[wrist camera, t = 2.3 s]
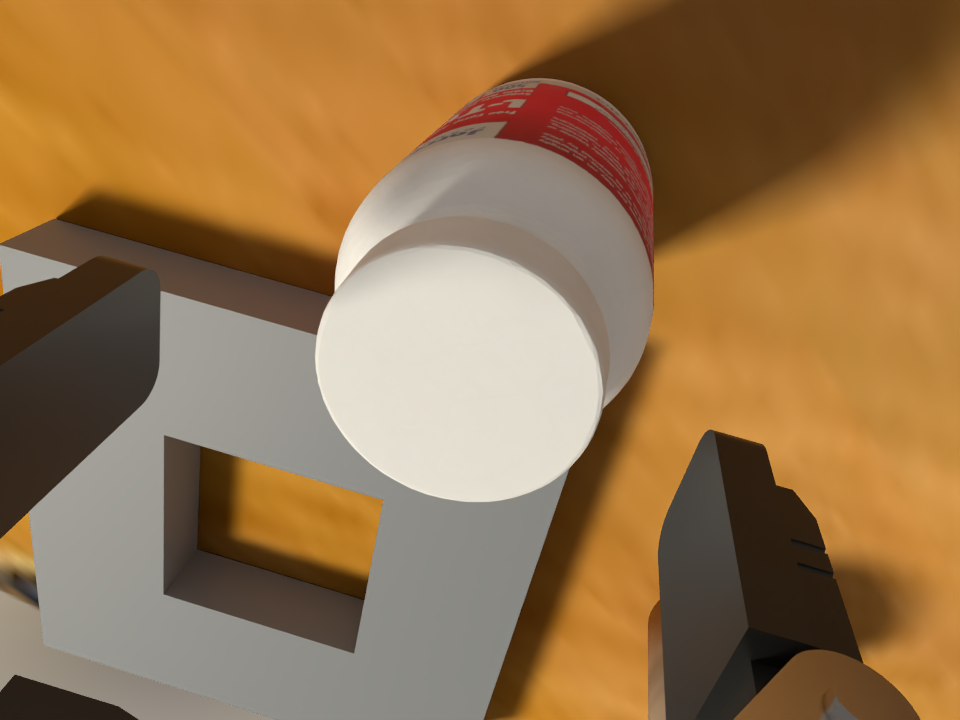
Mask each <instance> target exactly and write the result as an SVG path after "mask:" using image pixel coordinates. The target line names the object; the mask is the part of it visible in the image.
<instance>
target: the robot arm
mask: <svg viewBox="0 0 960 720" xmlns="http://www.w3.org/2000/svg"><path fill="white" fill-rule="evenodd" d="M160 301H161V286H160V280H159V277H158V275H157V273H156V272H155V271H154V270H152V269H148V268H145V267H141V266H138V265H134V264H131V263H127V262H124V261H120V260H117V259H113V258H109V257H106V256H97V257H95V258H93V259H91V260H89V261H87V262H86V263H84V264H82V265H81V266H79V267H77V268H75V269H74V270H72V271H70V272H69V273H67V274H65V275H63V276H62V277H60V278H51V279H48V280H44V281H40V282H36V283H32V284H28V285H25V286H21V287H17V288H14V289H13V290H11V291H9V292H7V293H5V294H4V295H2V296H0V538H1V537H3V536H4V535H5V534H6V533H7V532H8V531H9V530H10V529H11V528H12V527H13V526H14V525H15V524H16V523H17V522H18V521H20V520H21V519H22V518H23V517H24V516H25V515H26V514H27V513H28V512H29V511H30V510H31V509H32V508H33V507H34V506H35V505H36V504H38V503H39V502H40V501H41V500H42V499H43V498H44V497H45V496H46V495H47V494H48V493H49V492H50V491H51V490H52V489H53V488H55V487H56V486H57V485H58V484H59V483H60V482H61V481H62V480H63V479H64V478H65V477H66V476H67V475H68V474H69V473H70V472H72V471H73V470H74V469H75V468H76V467H77V466H78V465H79V464H80V463H81V462H82V461H83V460H84V459H85V458H86V457H87V456H88V455H90V454H91V453H92V452H93V451H94V450H95V449H96V448H97V447H98V446H99V445H100V444H101V443H102V442H103V441H104V440H105V439H107V438H108V437H109V436H110V435H111V434H112V433H113V432H114V431H115V430H116V429H117V428H118V427H119V426H120V425H121V424H122V423H123V422H125V421H126V420H127V419H128V418H129V417H130V416H131V415H132V414H133V413H134V412H135V411H136V410H137V409H138V408H139V407H140V406H141V405H142V404H143V403H144V402H145V401H146V400H147V398H148V397H149V395H150V393H151V391H152V389H153V387H154V385H155V382H156V379H157V375H158V371H159V363H160ZM825 549H826V548H825V545H824V542H823V539H822V536H821V533H820V529H819V526H818V523H817V520H816V519H815V517H814V516H813V515H812V513H811V512H810V511H809V510H808V508H807V507H806V506H805V505H804V503H803V502H802V501H801V500H800V498H799V497H798V496H797V495H796V493H795V492H794V491H793V490H791V489H787V488H784V487H780V486H777V485H776V484H775V480H774V476H773V473H772V469H771V465H770V462H769V458H768V454H767V451H766V448H765V446H764V445H762V444H760V443H756V442H753V441H749V440H746V439H742V438H738V437H735V436H731V435H728V434H724V433H721V432H717V431H714V430H708V431H707V432H706V433H705V434H704V435H703V437H702V438H701V440H700V442H699V444H698V446H697V448H696V451H695V453H694V455H693V457H692V459H691V462H690V464H689V466H688V468H687V470H686V473H685V475H684V477H683V479H682V481H681V484H680V486H679V488H678V490H677V492H676V494H675V497H674V499H673V501H672V503H671V505H670V508H669V510H668V512H667V515H666V517H665V520H664V523H663V527H662V531H661V535H660V541H659V548H658V565H659V586H660V607H661V628H662V649H663V670H664V691H665V712H666V720H920V718H919V716H918V715H917V713H916V712H915V710H914V709H913V707H912V706H911V704H910V703H909V702H908V701H907V699H906V698H905V697H904V696H903V695H902V694H901V693H900V692H899V691H898V690H897V689H896V688H895V687H894V686H893V685H892V684H891V683H890V682H889V681H888V680H886V679H885V678H884V677H883V676H882V675H880V674H879V673H877V672H876V671H874V670H873V669H871V668H870V667H868V666H867V665H865V664H863V661H862V658H861V655H860V652H859V649H858V646H857V643H856V640H855V637H854V634H853V631H852V627H851V624H850V621H849V618H848V615H847V612H846V609H845V606H844V603H843V600H842V597H841V594H840V591H839V588H838V585H837V582H836V579H833V573H834V572H833V569H832V566H831V563H830V560H829V557H828V554H825ZM0 720H138V719H137V718H135V717H134V716H132V715H131V714H129V713H128V712H126V711H125V710H123V709H121V708H120V707H118V706H115V705H112V704H109V703H105V702H102V701H99V700H96V699H92V698H89V697H85V696H82V695H79V694H76V693H73V692H70V691H66V690H63V689H59V688H57V687H53V686H50V685H47V684H44V683H40V682H37V681H34V680H30V679H27V678H24V677H21V676H17V675H14V676H13V677H12V679H11V680H10V681H9V682H8V683H7V685H6V686H5V687H4V688H3V689H2V690H1V692H0Z"/></svg>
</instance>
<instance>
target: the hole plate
mask: <svg viewBox="0 0 960 720" xmlns="http://www.w3.org/2000/svg"><path fill="white" fill-rule="evenodd" d="M97 256H106V257H109V258H113V259H117V260H120V261H124V262H127V263H131V264H134V265H138V266H141V267H145V268H148V269H152V270H154V271H155V272H156V273H157V275H158V277H159V280H160V286H161V301H160V363H159V371H158V375H157V379H156V382H155V385H154V387H153V389H152V391H151V393H150V395H149V397H148V398H147V400H146V401H145V402H144V403H143V404H142V405H141V406H140V407H139V408H138V409H137V410H136V411H135V412H134V413H133V414H132V415H131V416H130V417H129V418H128V419H127V420H126V421H125V422H123V423H122V424H121V425H120V426H119V427H118V428H117V429H116V430H115V431H114V432H113V433H112V434H111V435H110V436H109V437H108V438H107V439H105V440H104V441H103V442H102V443H101V444H100V445H99V446H98V447H97V448H96V449H95V450H94V451H93V452H92V453H91V454H90V455H88V456H87V457H86V458H85V459H84V460H83V461H82V462H81V463H80V464H79V465H78V466H77V467H76V468H75V469H74V470H73V471H72V472H70V473H69V474H68V475H67V476H66V477H65V478H64V479H63V480H62V481H61V482H60V483H59V484H58V485H57V486H56V487H55V488H53V489H52V490H51V491H50V492H49V493H48V494H47V495H46V496H45V497H44V498H43V499H42V500H41V501H40V502H39V503H38V504H36V505H35V506H34V507H33V508H32V509H31V510H30V511H29V519H30V528H31V537H32V546H33V554H34V563H35V572H36V581H37V590H38V598H39V607H40V615H41V625H42V633H43V642H44V646H47V647H50V648H53V649H56V650H59V651H63V652H66V653H69V654H72V655H75V656H78V657H81V658H85V659H88V660H91V661H94V662H97V663H100V664H103V665H106V666H110V667H113V668H116V669H119V670H122V671H125V672H129V673H132V674H135V675H138V676H141V677H144V678H147V679H151V680H154V681H157V682H160V683H163V684H166V685H169V686H173V687H176V688H179V689H182V690H185V691H189V692H191V693H194V694H198V695H201V696H204V697H207V698H211V699H213V700H217V701H220V702H223V703H226V704H229V705H232V706H236V707H239V708H242V709H245V710H248V711H251V712H254V713H257V714H260V715H264V716H267V717H270V718H273V719H276V720H484V717H485V714H486V711H487V708H488V705H489V702H490V699H491V696H492V693H493V690H494V687H495V684H496V682H497V679H498V676H499V673H500V670H501V667H502V664H503V661H504V658H505V655H506V652H507V649H508V646H509V644H510V641H511V638H512V635H513V632H514V629H515V626H516V623H517V620H518V617H519V614H520V611H521V608H522V606H523V603H524V600H525V597H526V594H527V591H528V588H529V585H530V582H531V579H532V576H533V573H534V570H535V567H536V565H537V562H538V559H539V556H540V553H541V550H542V547H543V544H544V541H545V538H546V535H547V532H548V529H549V527H550V524H551V521H552V518H553V515H554V512H555V509H556V506H557V503H558V500H559V497H560V494H561V491H562V489H563V486H564V483H565V480H566V477H567V474H568V471H569V469H568V470H566V471H565V472H564V473H563V474H562V475H560V476H559V477H557V478H556V479H555V480H553V481H552V482H550V483H549V484H547V485H545V486H543V487H541V488H539V489H537V490H534V491H532V492H530V493H527V494H524V495H521V496H518V497H514V498H510V499H505V500H500V501H491V502H463V501H455V500H449V499H443V498H439V497H435V496H431V495H427V494H424V493H421V492H419V491H416V490H413V489H411V488H409V487H407V486H405V485H403V484H401V483H399V482H397V481H395V480H394V479H392V478H390V477H388V476H387V475H385V474H384V473H382V472H381V471H379V470H378V469H377V468H375V467H374V466H373V465H371V464H370V463H369V462H368V461H367V460H366V459H365V458H363V457H362V456H361V455H360V454H359V453H358V452H357V451H356V450H355V449H354V448H353V447H352V445H351V444H350V443H349V442H348V441H347V439H346V438H345V437H344V436H343V434H342V433H341V431H340V430H339V428H338V427H337V425H336V424H335V422H334V421H333V419H332V417H331V415H330V413H329V411H328V409H327V407H326V405H325V402H324V400H323V397H322V394H321V390H320V387H319V384H318V377H317V373H316V364H315V351H316V340H317V333H318V329H319V325H320V322H321V319H322V315H323V312H324V310H325V308H326V306H327V304H328V302H329V301H330V299H331V296H328V295H324V294H321V293H317V292H314V291H310V290H306V289H303V288H299V287H296V286H292V285H289V284H285V283H282V282H278V281H274V280H271V279H267V278H264V277H260V276H257V275H253V274H250V273H246V272H242V271H239V270H235V269H232V268H228V267H225V266H221V265H218V264H214V263H210V262H207V261H203V260H200V259H196V258H193V257H189V256H185V255H182V254H178V253H175V252H171V251H168V250H164V249H161V248H157V247H153V246H150V245H146V244H143V243H139V242H136V241H132V240H129V239H125V238H121V237H118V236H114V235H111V234H107V233H104V232H100V231H97V230H93V229H89V228H86V227H82V226H79V225H75V224H72V223H68V222H65V221H61V220H57V219H53V220H51V221H48V222H46V223H44V224H42V225H40V226H37V227H35V228H33V229H31V230H29V231H27V232H24V233H22V234H20V235H18V236H16V237H14V238H11V239H9V240H7V241H5V242H3V243H1V244H0V264H1V273H2V282H3V291H4V294H5V293H7V292H9V291H11V290H13V289H14V288H17V287H21V286H25V285H28V284H32V283H36V282H40V281H44V280H48V279H51V278H60V277H62V276H63V275H65V274H67V273H69V272H70V271H72V270H74V269H75V268H77V267H79V266H81V265H82V264H84V263H86V262H87V261H89V260H91V259H93V258H95V257H97ZM201 446H203V447H206V448H209V449H213V450H216V451H219V452H223V453H226V454H230V455H233V456H236V457H240V458H243V459H246V460H250V461H253V462H257V463H260V464H263V465H267V466H270V467H273V468H277V469H280V470H283V471H287V472H290V473H294V474H297V475H300V476H304V477H307V478H310V479H314V480H317V481H321V482H324V483H327V484H331V485H334V486H337V487H341V488H344V489H347V490H351V491H354V492H358V493H361V494H364V495H368V496H371V497H374V498H378V499H381V500H384V501H383V506H382V511H381V516H380V522H379V527H378V532H377V537H376V543H375V548H374V553H373V558H372V563H371V569H370V574H369V579H368V584H367V589H366V595H365V600H362V599H359V598H355V597H352V596H349V595H346V594H342V593H339V592H336V591H332V590H329V589H326V588H323V587H319V586H316V585H313V584H310V583H306V582H303V581H300V580H296V579H293V578H290V577H287V576H283V575H280V574H277V573H274V572H270V571H267V570H264V569H260V568H257V567H254V566H251V565H247V564H244V563H241V562H238V561H234V560H231V559H228V558H225V557H221V556H218V555H215V554H211V553H208V552H205V551H202V550H198V549H197V539H198V509H199V479H200V449H201Z"/></svg>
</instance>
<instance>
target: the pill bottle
mask: <svg viewBox="0 0 960 720" xmlns="http://www.w3.org/2000/svg"><path fill="white" fill-rule="evenodd" d="M653 308H654V231H653V183H652V176H651V171H650V165H649V162H648V159H647V156H646V153H645V150H644V147H643V145H642V143H641V141H640V139H639V137H638V135H637V133H636V132H635V130H634V129H633V127H632V126H631V124H630V123H629V122H628V120H627V119H626V118H625V117H624V116H623V115H622V114H621V113H620V112H619V110H618V109H616V108H615V107H614V106H613V105H612V104H611V103H609V102H608V101H607V100H605V99H604V98H603V97H601V96H599V95H598V94H596V93H594V92H592V91H590V90H588V89H586V88H584V87H581V86H579V85H576V84H574V83H570V82H566V81H562V80H557V79H548V78H530V79H522V80H517V81H512V82H508V83H505V84H502V85H499V86H497V87H495V88H492V89H490V90H488V91H486V92H484V93H482V94H480V95H479V96H477V97H476V98H474V99H473V100H471V101H470V102H469V103H468V104H466V105H465V106H464V107H463V108H462V109H461V110H459V111H458V112H457V113H456V114H455V115H454V116H452V117H451V118H450V119H449V120H448V121H447V122H446V123H444V124H443V125H442V126H441V127H440V128H439V129H437V130H436V131H435V132H434V133H433V134H432V135H431V136H429V137H428V138H427V139H426V140H425V141H424V142H423V143H422V144H420V145H419V146H418V147H417V148H416V149H415V150H414V151H412V152H411V153H410V154H409V155H408V156H407V157H406V158H405V159H403V160H402V161H401V162H400V163H399V164H398V165H397V166H396V167H395V168H393V169H392V170H391V171H390V172H389V173H388V174H387V175H385V176H384V177H383V178H382V180H381V181H380V182H379V183H378V184H377V185H376V186H375V187H374V188H373V189H372V191H371V192H370V193H369V194H368V196H367V197H366V198H365V199H364V201H363V202H362V204H361V205H360V207H359V208H358V210H357V211H356V213H355V214H354V216H353V218H352V220H351V222H350V224H349V226H348V228H347V230H346V233H345V235H344V238H343V241H342V244H341V247H340V250H339V254H338V260H337V265H336V272H335V293H334V294H333V296H332V297H331V299H330V301H329V302H328V304H327V306H326V308H325V310H324V312H323V315H322V319H321V322H320V325H319V329H318V333H317V340H316V351H315V364H316V373H317V377H318V384H319V387H320V390H321V394H322V397H323V400H324V402H325V405H326V407H327V409H328V411H329V413H330V415H331V417H332V419H333V421H334V422H335V424H336V425H337V427H338V428H339V430H340V431H341V433H342V434H343V436H344V437H345V438H346V439H347V441H348V442H349V443H350V444H351V445H352V447H353V448H354V449H355V450H356V451H357V452H358V453H359V454H360V455H361V456H362V457H363V458H365V459H366V460H367V461H368V462H369V463H370V464H371V465H373V466H374V467H375V468H377V469H378V470H379V471H381V472H382V473H384V474H385V475H387V476H388V477H390V478H392V479H394V480H395V481H397V482H399V483H401V484H403V485H405V486H407V487H409V488H411V489H413V490H416V491H419V492H421V493H424V494H427V495H431V496H435V497H439V498H443V499H449V500H455V501H463V502H491V501H500V500H505V499H510V498H514V497H518V496H521V495H524V494H527V493H530V492H532V491H534V490H537V489H539V488H541V487H543V486H545V485H547V484H549V483H550V482H552V481H553V480H555V479H556V478H557V477H559V476H560V475H562V474H563V473H564V472H565V471H566V470H568V469H569V468H570V467H571V466H572V465H573V464H574V463H575V462H576V460H577V459H578V458H579V457H580V456H581V455H582V453H583V452H584V450H585V449H586V448H587V446H588V444H589V443H590V441H591V439H592V438H593V435H594V433H595V431H596V429H597V426H598V423H599V420H600V417H601V415H602V410H603V408H604V407H605V406H606V405H607V404H608V403H609V402H610V401H611V400H612V399H613V398H614V397H615V396H616V395H617V394H618V393H619V392H620V391H621V389H622V388H623V387H624V386H625V384H626V383H627V382H628V380H629V379H630V378H631V376H632V374H633V372H634V370H635V369H636V367H637V365H638V363H639V361H640V359H641V356H642V354H643V351H644V348H645V346H646V343H647V339H648V335H649V331H650V326H651V320H652V316H653Z"/></svg>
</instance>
